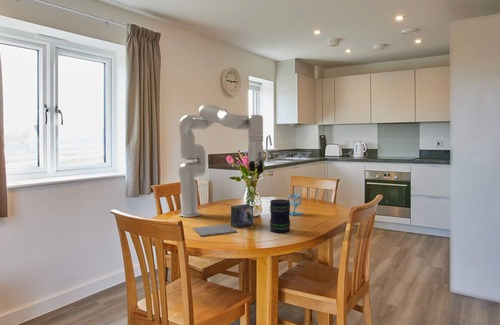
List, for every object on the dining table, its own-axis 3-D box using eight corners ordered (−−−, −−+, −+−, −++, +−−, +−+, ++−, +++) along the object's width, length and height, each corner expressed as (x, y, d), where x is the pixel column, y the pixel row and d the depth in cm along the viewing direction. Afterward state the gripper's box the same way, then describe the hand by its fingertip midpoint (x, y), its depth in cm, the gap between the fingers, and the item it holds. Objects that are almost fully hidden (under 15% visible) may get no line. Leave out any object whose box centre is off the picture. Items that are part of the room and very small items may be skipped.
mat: (193, 229, 183) (193, 227, 183) (226, 225, 190) (226, 224, 190) (201, 236, 170) (201, 235, 170) (236, 232, 177) (236, 230, 177)
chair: (284, 214, 215) (284, 194, 215) (293, 212, 221) (293, 193, 220) (294, 216, 210) (294, 196, 209) (303, 214, 215) (303, 194, 214)
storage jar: (272, 234, 173) (272, 203, 172) (267, 229, 183) (267, 199, 182) (292, 232, 175) (292, 202, 174) (286, 227, 185) (286, 198, 184)
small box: (237, 228, 185) (237, 208, 184) (230, 226, 190) (230, 206, 189) (253, 225, 191) (253, 205, 190) (246, 223, 196) (246, 203, 195)
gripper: (242, 139, 193) (243, 170, 195) (256, 139, 178) (256, 173, 179) (255, 138, 196) (255, 170, 198) (269, 139, 180) (270, 173, 182)
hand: (256, 171), depth 188 cm, fingers open, 9 cm apart
